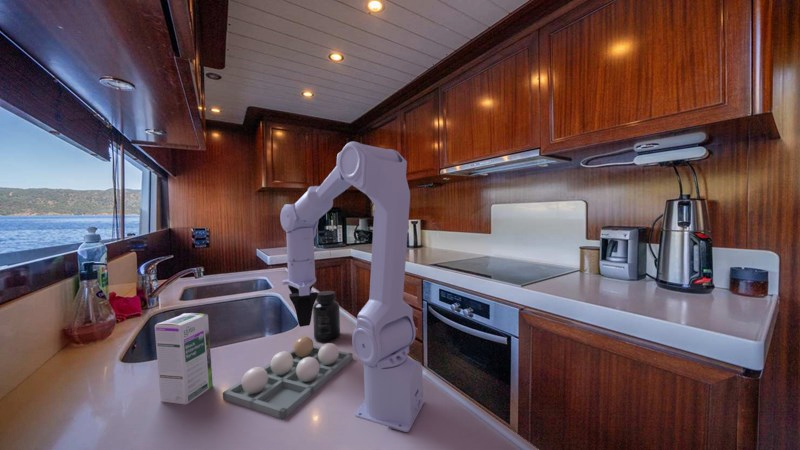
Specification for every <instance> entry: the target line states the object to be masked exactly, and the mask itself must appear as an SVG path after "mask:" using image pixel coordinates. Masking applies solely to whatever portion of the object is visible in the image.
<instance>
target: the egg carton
mask: <svg viewBox="0 0 800 450" xmlns="http://www.w3.org/2000/svg"><path fill="white" fill-rule="evenodd" d="M353 357H354V356H353V353H351V352H345V351H341V350H339V347H338V346H337V345H336V344H334V343H332V342H325V343H324V344H323V345H322V346H315V345H313V350H312V352H311V353H310V354H309V355H308V356H306V357H299V356H297V355H296V354H295V353H294V350H293V349H292V350H290V351H289V352H288V351H284V350H283V351H280V352H277V353H275V355H273V357H272V359H270V360H271V361H270V363H269V364H267V365H266V366H264V367H260V366H255V367H252V368H250V369H248V370H247V371H246V372H244V375H242V379H241V381H239V382H237V383H236V384H234V385H232V386H230V387H229V388H227V389H226V390H225V391H223V392H222V400H223V401H227V402H230V403H232V404H236V405H239V406H242V407H244V408H248V409H250V410H254V411H257V412H260V413H263V414H266V415H268V416H272V417H275V418H278V419H279V420H280V419H281V420H285V419H286V418H287V417H288V416H289V415H290V414H291V413H293V412H294V411H295V410H297V408H299V406H301V405H302V404H303V403H305V401H306V400H308V399H309V398H310V397H311V396H312V395H314V394H315V393H316V392H317V391H318V390H319V389H320V388H321V387H322V386H324V385H325V384H326V383H327V382H328V381H329V380H331V379H332V378H333V377H334V376H335V375H336V374H338V372H340V371H341V370H342V369H343V368H344V367H345V366H346V365H348V364H349V363H350V362H351V361H352V360H353V359H354V358H353Z"/></svg>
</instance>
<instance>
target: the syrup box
mask: <svg viewBox="0 0 800 450" xmlns="http://www.w3.org/2000/svg"><path fill="white" fill-rule="evenodd" d="M209 328H210V327H209V315H208V314H206V313H201V312H200V313H198V312H195V313H194V312H189V313H188V312H187V313H186V312H184V313H182V314H180V315H178V316H175V317H172V318H169V319H167V320H164V321H162V322H161V321H160V322H157V323H156V324H155V325H154V335H155V346H156V349H155V350H156V361H157V371H158V372H157V374H158V383H159V397H160V399H159V400H160V402H161V403H162V402H164V403H170V404H171V403H173V404H177V405H178V404H180V405H188V404H190V403H191V402H192V401H194V400H195V399H197V398H198V397H199V396H201V395H202V394H204V393H206V392H207V391H208V390H210V389H211V388H212V387H213V386H214V384H213V373H212V372H213V371H212V370H213V368H212V355H211V343H210V329H209Z"/></svg>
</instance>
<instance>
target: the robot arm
mask: <svg viewBox="0 0 800 450" xmlns="http://www.w3.org/2000/svg"><path fill="white" fill-rule="evenodd" d="M407 164H408V161H407V160H406V159H405V158H404V157H403V156H402V155H401V154H400V153H399V151H397V150H396V149H393V148H383V147H377V146H374V145H373V146H372V145H368V144H364V143H360V142H357V141H349V142H348V143H346V144H345V146H343V148H342V150H341V151H340V152H338V153H337V156H336V166H335V167H334V168H333V170H332V171H331V172H330V173H329V174H328V176H327V177H326V178H325V179H324V180H323V182H322V183H321V184H320V185H314V186H313V185H312V186H309V187H308V188H307V191H306V192H304V194H303V195H302V196H301V197H300V198H299V199H298V200H297V201H296V202H295V203H291V204H287V203H286V204H284V205H283V207H282V208H281V211H280V216H279V218H280V220H279V221H280V225H281V228H282V230H284V232H285V233H286V236H285V237H286V260H287V262H286V263H287V279H282V285H287V288H288V289H289V291H290V293H288V296H289V299H290V301H291V303H292V305H293V307H294V310H295V314H296V318H297V322H298V326H299V327H307V326H308V327H309V326H311V321H312V317H313V316H312V315H313V307H314V305H315V304H316V302H317V301H316V299H317V296H318V292H317V291H315V292H311V291H312V289H313V287H314V284H315V283H317V277H316V267H315V266H316V265H315V238H316V236H317V228H318V225H319V222H320V221H319V220H320V219H321V218H322V217H323V216H325V214H326V213H328V212H329V211H330V210H331V209H332V208H333V205H334V199H335V198H337V197H338V196H340V195H341V194H342V193H344V192H345V191H346V190H348V189H349V188H350V187H352V186H353V187H354V188H356V189H357V190H358V191H360V192H362V193H363V194H365V195H366V196H367V197H368V198H369V200H370V201H371V202H372V203H373V205H374V206H373V207H374V208H373V210H374V212H373V226H372V227H373V228H372V229H373V230H372V242H371V243H372V245H371V260H370V261H371V262H370V263H371V264H370V279H369V281H370V282H369V295H368V296H369V299H368V301H367V302H366V303H365V305H364V306H363V307H362V308H361V310H360V311H359V312H358V314H357V317H356V325H355V328H354V330H353V331H352V337H351V339H352V340H351V343H352V345H351V346H352V349H353V351H354V354H355V355H356V357H357V358H358V360H359V361H360V362H361V363H363V383H364V384H363V385H364V389H363V390H364V401H363V403H362V404H361V405H360V406H359V407H358V409H357V410H356V411H355V412H354V416H355V418H359V419H363V420H364V421H369V422H373V423H376V424H380V425H383V426H386V427H388V428H391V429H393V430H397V431H402V432H404V433H409V432H410V430H411V429H412V426H413V424H414V422H416V419H417V417H418V415H419V413H420V411H421V410H422V407H423V405H424V404H425V398H424V396H423V395H424V391H423V390H424V386H423V384H424V382H423V380H424V379H423V378H424V377H423V366H422V363H421V362H420V361H417V360H415V359H414V358H411V357H410V356H409V355H408V354H409V353H410V346H411V345H412V344H413V343H414V342H415V340H416V334H417V332H416V330H417V329H416V325H415V322H414V316H413V313H414V309H413V307H412V306H410V305H409V304H408V303H407V302H406V301H404V291H405V275H406V262H407V261H406V259H407V249H408V247H407V246H408V245H407V244H408V231H409V216H410V203H411V191H410V188H409V184H408V179H407V168H408V167H407V166H408V165H407Z"/></svg>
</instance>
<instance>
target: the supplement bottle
mask: <svg viewBox="0 0 800 450" xmlns="http://www.w3.org/2000/svg"><path fill="white" fill-rule="evenodd" d="M317 293H318V296H317V299H316V301H315V303H314V306H313V310H312V315H313V316H312V318H313V321H312V323H313V339H314V340H315V341H316V342H319V343H331V342H333V341H336V340H338V338H340V336H341V315H340V314H341V313H340V312H341V311H340V304H339V302H338V301H336V292H335V291H334V290H324V291H323V290H322V291H319V292H317Z"/></svg>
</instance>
